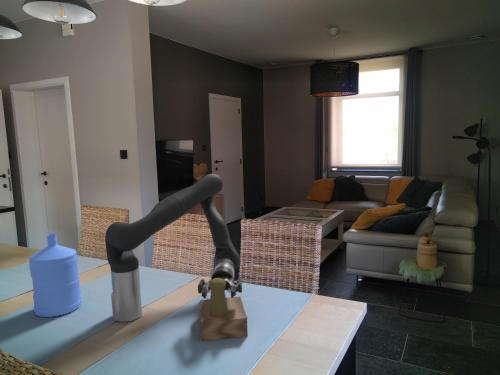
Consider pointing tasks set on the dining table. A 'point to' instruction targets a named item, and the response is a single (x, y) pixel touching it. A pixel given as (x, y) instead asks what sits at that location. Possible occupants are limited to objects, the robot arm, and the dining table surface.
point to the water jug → (55, 279)
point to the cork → (218, 298)
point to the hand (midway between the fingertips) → (218, 295)
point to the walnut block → (224, 321)
